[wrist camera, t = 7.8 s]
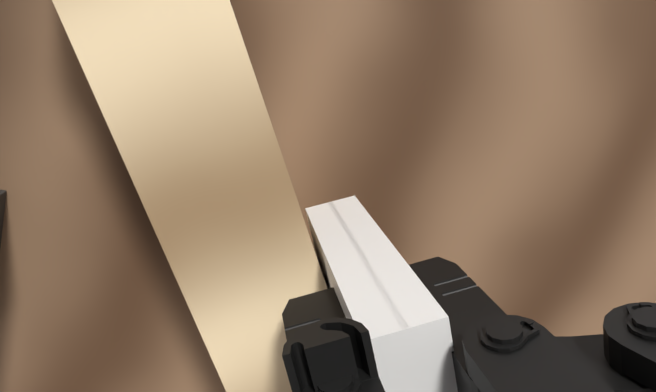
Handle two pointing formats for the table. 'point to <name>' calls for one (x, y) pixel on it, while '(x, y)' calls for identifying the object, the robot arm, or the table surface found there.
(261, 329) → the stool leg
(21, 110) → the board
